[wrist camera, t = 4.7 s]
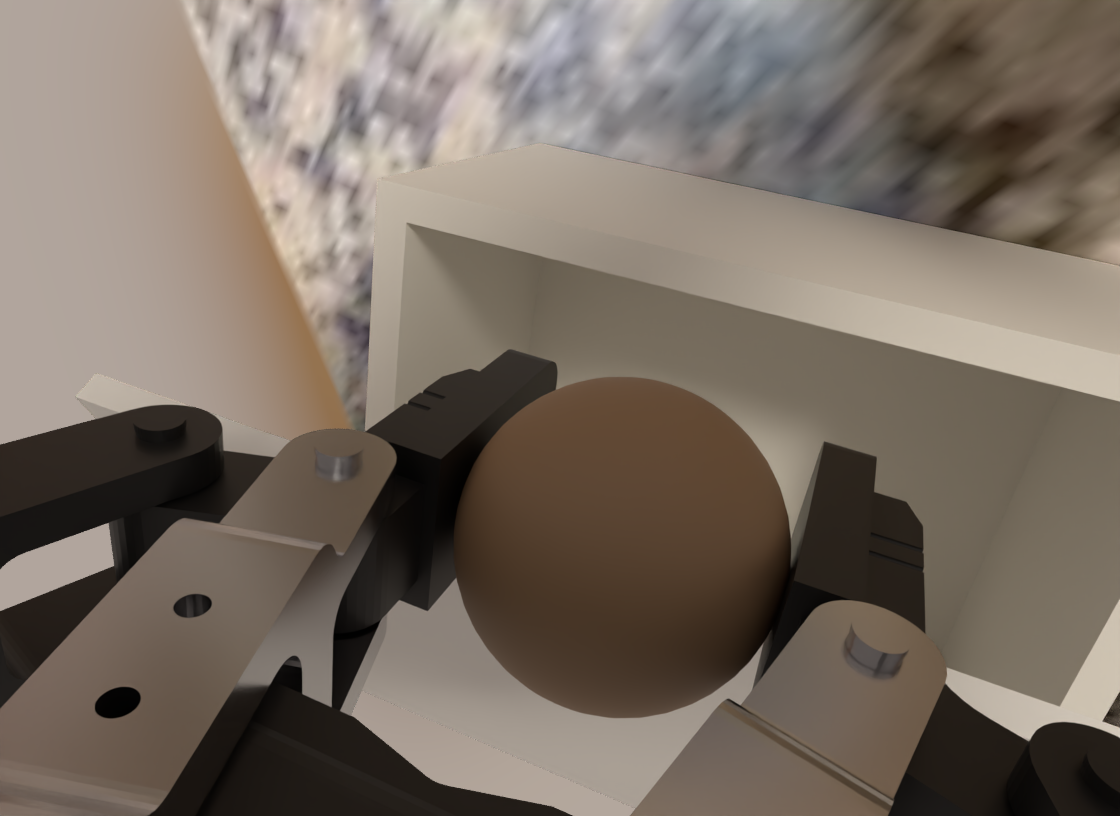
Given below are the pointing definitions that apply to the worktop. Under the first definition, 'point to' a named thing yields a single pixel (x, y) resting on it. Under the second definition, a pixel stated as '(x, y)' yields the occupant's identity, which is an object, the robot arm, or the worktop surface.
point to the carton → (805, 366)
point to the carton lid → (599, 584)
